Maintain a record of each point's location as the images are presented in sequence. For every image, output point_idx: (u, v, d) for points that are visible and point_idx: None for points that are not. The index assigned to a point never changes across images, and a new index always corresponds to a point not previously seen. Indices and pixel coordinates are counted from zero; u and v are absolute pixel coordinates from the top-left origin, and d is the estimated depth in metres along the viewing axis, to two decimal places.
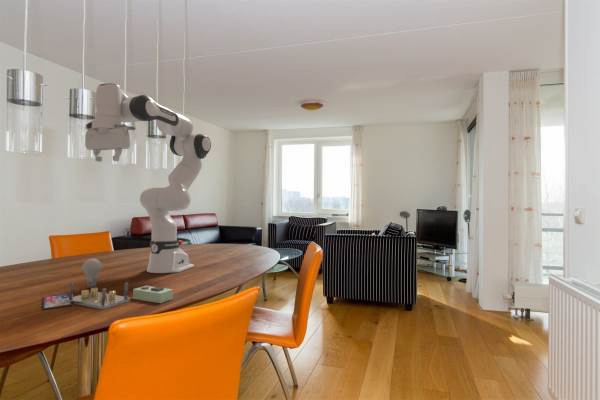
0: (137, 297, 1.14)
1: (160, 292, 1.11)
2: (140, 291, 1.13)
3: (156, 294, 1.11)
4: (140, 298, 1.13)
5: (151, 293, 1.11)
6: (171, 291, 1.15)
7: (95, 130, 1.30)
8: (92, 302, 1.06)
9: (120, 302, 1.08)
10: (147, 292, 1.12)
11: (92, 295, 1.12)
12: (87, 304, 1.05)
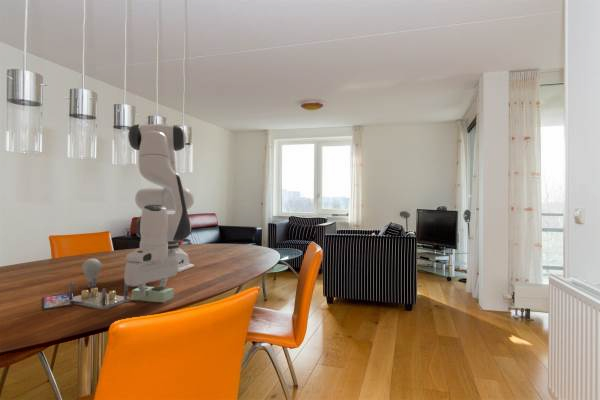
0: (137, 298, 1.13)
1: (163, 291, 1.12)
2: None
3: (159, 293, 1.11)
4: (140, 298, 1.13)
5: (153, 293, 1.12)
6: (172, 290, 1.16)
7: (151, 261, 1.11)
8: (92, 302, 1.06)
9: (120, 302, 1.08)
10: (148, 292, 1.12)
11: (92, 295, 1.12)
12: (87, 304, 1.05)
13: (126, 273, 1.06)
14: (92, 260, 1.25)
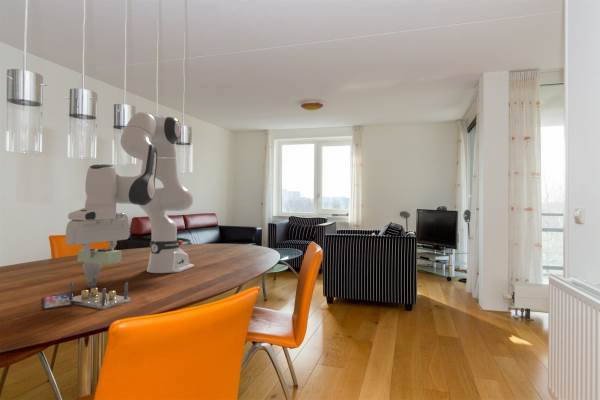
0: (82, 258, 1.09)
1: (107, 252, 1.07)
2: None
3: (103, 254, 1.07)
4: (85, 259, 1.08)
5: (98, 253, 1.07)
6: (120, 252, 1.11)
7: (96, 221, 1.06)
8: (92, 302, 1.06)
9: (120, 302, 1.08)
10: (93, 252, 1.08)
11: (92, 295, 1.12)
12: (87, 304, 1.05)
13: (67, 231, 1.02)
14: None
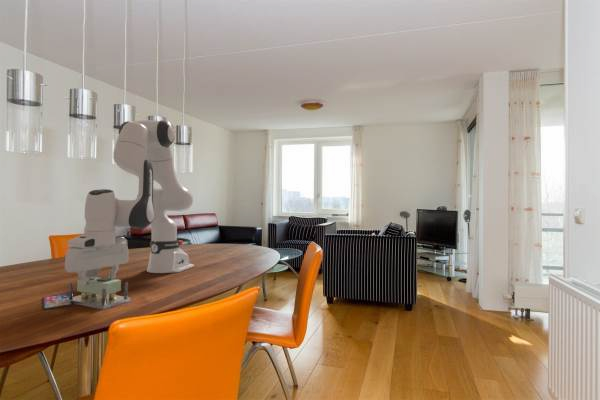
0: (82, 288, 1.09)
1: (106, 282, 1.07)
2: None
3: (102, 285, 1.07)
4: (85, 289, 1.09)
5: (97, 284, 1.07)
6: (119, 281, 1.11)
7: (95, 247, 1.06)
8: (92, 302, 1.06)
9: (120, 302, 1.08)
10: (92, 283, 1.08)
11: (92, 295, 1.12)
12: (87, 304, 1.05)
13: (66, 259, 1.02)
14: None
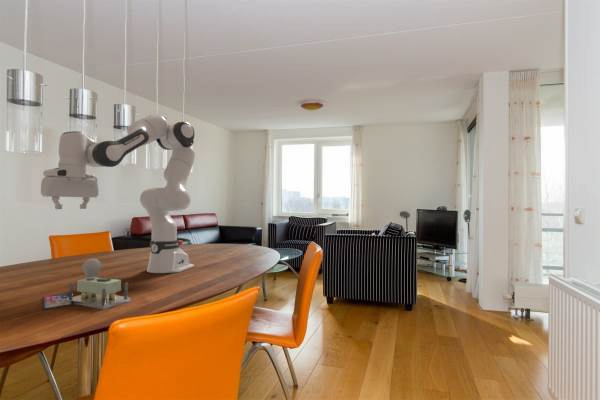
0: (82, 288, 1.09)
1: (106, 282, 1.07)
2: (85, 282, 1.09)
3: (102, 285, 1.07)
4: (85, 289, 1.09)
5: (97, 284, 1.07)
6: (119, 281, 1.11)
7: (67, 178, 1.26)
8: (92, 302, 1.06)
9: (120, 302, 1.08)
10: (92, 283, 1.08)
11: (92, 295, 1.12)
12: (87, 304, 1.05)
13: (42, 185, 1.22)
14: (92, 260, 1.25)
